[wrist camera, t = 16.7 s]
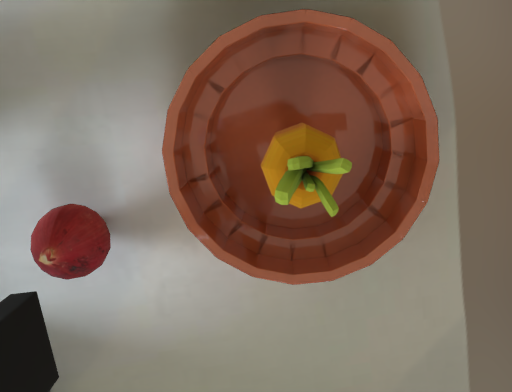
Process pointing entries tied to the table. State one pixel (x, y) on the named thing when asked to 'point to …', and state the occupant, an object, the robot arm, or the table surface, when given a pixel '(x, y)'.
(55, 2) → the table surface
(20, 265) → the table surface
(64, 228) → the onion
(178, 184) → the basin
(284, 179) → the carrot
